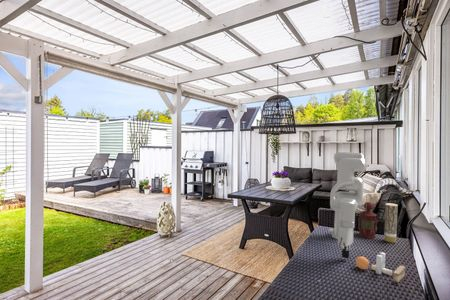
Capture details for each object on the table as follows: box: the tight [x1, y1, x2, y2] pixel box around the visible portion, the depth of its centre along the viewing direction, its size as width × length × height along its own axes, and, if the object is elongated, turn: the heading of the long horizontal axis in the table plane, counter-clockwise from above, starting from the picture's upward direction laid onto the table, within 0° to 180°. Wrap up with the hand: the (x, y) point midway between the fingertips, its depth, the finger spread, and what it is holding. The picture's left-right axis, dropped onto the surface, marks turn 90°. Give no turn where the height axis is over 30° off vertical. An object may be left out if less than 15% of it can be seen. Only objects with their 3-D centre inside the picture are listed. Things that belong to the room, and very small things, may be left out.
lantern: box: [357, 193, 378, 240], centre depth 183 cm, size 12×12×30 cm
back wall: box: [392, 264, 406, 284], centre depth 122 cm, size 2×12×4 cm, turn 133°
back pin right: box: [375, 254, 383, 275], centre depth 126 cm, size 2×2×8 cm
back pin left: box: [379, 251, 386, 269], centre depth 130 cm, size 2×2×8 cm
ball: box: [355, 255, 370, 270], centre depth 131 cm, size 6×6×6 cm
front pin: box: [371, 263, 393, 277], centre depth 128 cm, size 2×2×8 cm
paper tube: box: [383, 202, 399, 244], centre depth 174 cm, size 7×7×25 cm
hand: (345, 257), depth 141 cm, fingers closed
